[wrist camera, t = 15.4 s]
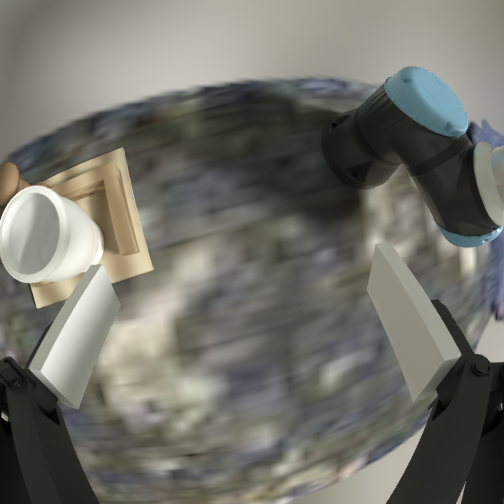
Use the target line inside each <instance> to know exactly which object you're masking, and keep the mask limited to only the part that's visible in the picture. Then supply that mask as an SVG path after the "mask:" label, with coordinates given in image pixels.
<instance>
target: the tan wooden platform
mask: <svg viewBox="0 0 504 504" xmlns="http://www.w3.org/2000/svg"><path fill="white" fill-rule="evenodd" d="M30 186H44V187H47V188H49V189H51V190H53V191H54V192H56V193H57V194H58V195H59V196H62V197H65V198H67V199H69V200H71V201H73V202H74V203H76V204H77V205H78V206H80V207H81V208H82V209H83V210H84V211H85V213H86V214H87V215H88V216H89V217H90V218H91V220H93V221H94V222H95V223H96V224H97V225H98V226H99V227H100V229H101V231H102V233H103V237H104V251H103V254H102V257H101V259H100V261H99V262H98V263H97V264H103V266H104V269H105V271H106V273H107V276H108V278H109V280H110V282H111V284H112V283H115V282H118V281H121V280H124V279H127V278H130V277H133V276H136V275H139V274H142V273H146V272H149V271H152V270H154V269H153V266H152V263H151V259H150V256H149V253H148V249H147V246H146V242H145V238H144V235H143V231H142V227H141V223H140V220H139V216H138V212H137V207H136V203H135V199H134V195H133V190H132V186H131V181H130V176H129V171H128V166H127V161H126V156H125V151H124V149H123V147H122V148H120V149H117V150H114V151H111V152H109V153H106V154H104V155H101V156H98V157H96V158H93V159H91V160H89V161H86V162H84V163H81V164H79V165H77V166H74V167H72V168H70V169H68V170H65V171H63V172H61V173H59V174H57V175H55V176H53V177H51V178H49V179H47V180H45V181H43V182H35V183H33V184H30V183H28V182H26V181H24V180H23V179H21V178H20V172H19V169H18V167H17V166H16V165H14V164H12V163H11V162H5V163H3V164H1V165H0V206H5V205H7V204H8V203H9V202H10V201H11V199H12V198H13V197H14V196H15V195H16V194H17V193H19V192H20V191H21V190H23V189H25V188H27V187H30ZM85 273H86V272H82V273H80V274H78V275H75V276H74V277H71V278H69V279H66V280H62V281H56V282H47V281H40V282H37V283H30V284H31V288H32V292H33V296H34V299H35V303H36V306H37V309H38V308H41V307H44V306H47V305H50V304H53V303H56V302H59V301H62V300H65V299H68V298H69V296H70V295H71V293H72V292H73V290H74V289H75V287H76V286H77V284H78V283H79V281H80V280H81V278H82V277H83V275H84V274H85Z"/></svg>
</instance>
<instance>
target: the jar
mask: <svg viewBox="0 0 504 504" xmlns="http://www.w3.org/2000/svg"><path fill="white" fill-rule="evenodd" d="M103 251H104V237H103V233H102V231H101V229H100V227H99V226H98V225H97V224H96V223H95V222H94V221H93V220H91V218H90V217H89V216H88V215H87V214H86V213H85V211H84V210H83V209H82V208H81V207H80V206H78V205H77V204H76V203H74V202H73V201H71V200H69V199H67V198H65V197H62V196H59V195H58V194H57V193H56V192H54V191H53V190H51V189H49V188H47V187H44V186H30V187H27V188H25V189H23V190H21V191H20V192H19V193H17V194H16V195H15V196H14V197H13V198H12V199H11V201H10V202H9V203H8V205H7V207H6V208H5V210H4V213H3V215H2V218H1V221H0V257H1V260H2V262H3V265H4V266H5V268H6V270H7V271H8V272H9V273H10V275H11V276H13V277H14V278H15V279H17V280H19V281H21V282H25V283H37V282H40V281H47V282H56V281H62V280H66V279H69V278H71V277H74V276H75V275H78V274H80V273H82V272H86V271H87V270H88V268H89V267H90V265H94V264H97V263H98V262H99V261H100V259H101V257H102V254H103Z"/></svg>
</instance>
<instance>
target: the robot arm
mask: <svg viewBox="0 0 504 504" xmlns="http://www.w3.org/2000/svg"><path fill="white" fill-rule="evenodd" d="M467 128H468V117H467V114H466V112H465V111H464V107H463V105H462V103H461V101H460V100H459V98H458V97H457V95H456V94H455V93H454V92H453V90H452V89H450V87H449V86H448V85H447V84H446V83H445V82H444V81H442V80H441V79H440V78H439V77H437V76H436V75H434V74H433V73H431V72H429V71H427V70H425V69H423V68H419V67H413V66H411V67H406V68H403V69H401V70H400V71H399V72H397V73H396V74H395V75H393V76H391V77H389V78H388V79H386V81H385V83H384V84H383V85H382V86H381V87H380V88H379V89H378V90H377V91H376V92H375V93H373V94H372V95H371V96H370V97H369V98H368V99H367V100H366V101H365V102H364V103H363V104H362V105H361V106H360V107H359V108H357V109H353V110H350V111H347V112H344V113H341V114H339V115H337V116H336V117H334V118H333V119H332V120H331V121H330V122H329V123H328V124H327V126H326V127H325V129H324V132H323V136H322V147H323V151H324V155H325V157H326V160H327V162H328V163H329V165H330V167H331V168H332V170H333V171H334V172H335V173H336V174H337V175H338V176H339V177H340V178H341V179H342V180H343V181H345V182H346V183H348V184H349V185H351V186H354V187H356V188H360V189H372V188H375V187H377V186H379V185H381V184H383V183H385V182H386V181H387V180H388V179H389V178H390V177H391V175H392V174H393V173H394V171H395V170H396V169H397V167H398V166H399V165H400V164H402V163H403V164H404V166H405V167H406V169H407V170H408V172H409V173H410V175H411V177H412V179H413V180H414V182H415V184H416V185H417V187H418V189H419V191H420V192H421V194H422V196H423V198H424V200H425V202H426V204H427V205H428V207H429V209H430V211H431V213H432V215H433V218H434V221H435V222H436V224H437V226H438V227H439V228H440V229H441V231H442V233H443V235H444V237H445V238H446V239H447V240H448V241H449V242H450V243H452V244H454V245H456V246H459V247H467V248H469V247H477V246H480V245H483V243H484V242H485V241H488V242H490V241H492V240H493V239H495V238H496V237H497V236H498V235H499V234H500V233H501V231H502V229H503V227H504V146H501V147H499V148H494V147H493V146H491V145H490V144H488V143H486V142H480V143H477V144H475V145H472V144H471V142H470V141H469V139H468V137H467V135H466V134H465V132H466V130H467ZM367 292H368V294H369V296H370V298H371V300H372V302H373V304H374V307H375V309H376V311H377V313H378V315H379V318H380V320H381V322H382V324H383V327H384V329H385V331H386V333H387V336H388V338H389V341H390V343H391V345H392V348H393V350H394V353H395V355H396V358H397V360H398V363H399V365H400V368H401V370H402V373H403V376H404V378H405V381H406V384H407V386H408V389H409V392H410V395H411V398H412V400H413V402H416V401H419V400H422V399H425V398H428V397H430V395H431V394H432V393H433V392H434V391H435V389H436V391H437V393H438V396H437V397H436V399H435V400H434V401H433V402H432V403H431V404H430V405H429V407H428V410H430V409H431V408H432V407H433V408H432V411H431V414H430V416H429V419H428V422H427V424H426V427H425V429H424V431H423V434H422V436H421V439H420V441H419V443H418V445H417V448H416V450H415V452H414V454H413V456H412V458H411V460H410V462H409V464H408V466H407V468H406V470H405V472H404V474H403V476H402V477H401V479H400V481H399V483H398V484H397V486H396V488H395V490H394V491H393V493H392V495H391V496H390V498H389V500H388V501H387V503H386V504H456V502H457V500H458V498H459V496H460V493H461V491H462V489H463V486H464V484H465V482H466V484H465V489H464V493H463V497H462V501H461V504H504V362H498V363H490V361H489V360H488V359H487V358H486V357H484V356H483V355H479V354H474V352H473V351H472V349H471V347H470V345H469V343H468V342H467V340H466V338H465V336H464V335H463V333H462V331H461V330H460V328H459V326H457V323H456V321H455V320H454V318H452V315H451V313H450V312H449V310H448V309H447V307H446V306H445V305H443V304H442V303H441V302H440V301H439V300H437V299H436V300H431V301H430V300H429V298H428V297H427V295H426V293H425V292H424V290H423V289H422V287H421V286H420V284H419V283H418V281H417V280H416V279H415V277H414V276H413V274H412V273H411V271H410V270H409V268H408V267H407V266H406V264H405V263H404V261H403V260H402V259H401V257H400V256H399V255H398V253H397V252H396V251H395V249H394V248H393V246H392V245H391V244H390V243H383V244H376V245H375V251H374V257H373V262H372V267H371V272H370V277H369V282H368V286H367ZM120 306H121V304H120V302H119V300H118V298H117V296H116V294H115V291H114V289H113V287H112V285H111V282H110V280H109V278H108V276H107V273H106V271H105V269H104V266H103V264H94V265H90V267H89V268H88V270H87V271H86V273H85V274H84V275H83V277H82V278H81V280H80V281H79V283H78V284H77V286H76V287H75V289H74V290H73V292H72V293H71V295H70V296H69V298H68V299H67V301H66V302H65V304H64V306H63V307H62V309H61V310H60V312H59V314H58V315H57V317H56V319H55V320H54V321H53V322H52V323H51V324H50V325H49V326H48V327H47V328H46V329H45V331H44V333H43V334H42V336H41V339H40V340H39V341H38V343H37V345H36V347H35V349H34V350H33V352H32V354H31V356H30V358H29V360H28V362H27V364H26V366H25V368H24V370H23V369H22V368H21V367H20V366H19V365H18V364H17V362H16V361H15V360H14V359H13V358H12V357H5V358H3V359H2V360H1V361H0V504H100V503H99V501H98V499H97V497H96V496H95V494H94V492H93V490H92V488H91V486H90V484H89V482H88V480H87V478H86V475H85V473H84V471H83V469H82V467H81V464H80V462H79V460H78V457H77V455H76V452H75V450H74V447H73V445H72V442H71V439H70V436H69V434H68V431H67V428H66V425H65V422H64V419H63V415H62V412H61V409H60V407H59V405H58V404H57V401H58V399H59V400H60V401H61V402H62V403H63V404H64V405H66V406H68V407H72V408H75V409H79V406H80V403H81V401H82V398H83V395H84V392H85V389H86V386H87V384H88V381H89V378H90V376H91V373H92V371H93V368H94V365H95V363H96V360H97V358H98V356H99V353H100V351H101V348H102V346H103V344H104V341H105V339H106V337H107V334H108V332H109V330H110V327H111V325H112V323H113V321H114V319H115V316H116V314H117V312H118V310H119V308H120ZM501 404H502V408H501ZM2 412H3V413H4V414H5V415H6V416H8V422H7V421H5V420H4V419H3V418H2V417H1V414H2Z"/></svg>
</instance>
